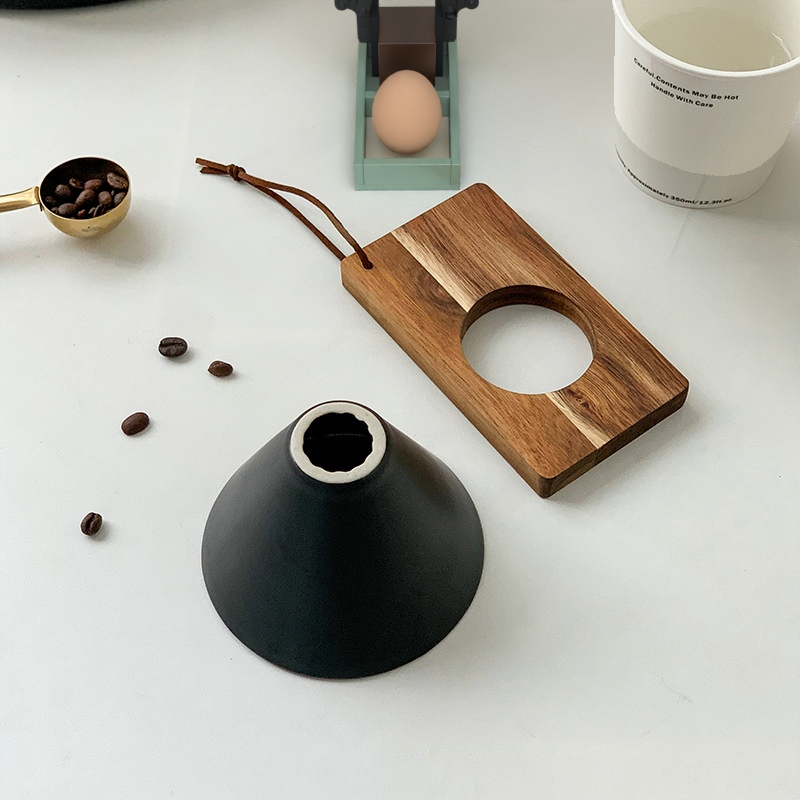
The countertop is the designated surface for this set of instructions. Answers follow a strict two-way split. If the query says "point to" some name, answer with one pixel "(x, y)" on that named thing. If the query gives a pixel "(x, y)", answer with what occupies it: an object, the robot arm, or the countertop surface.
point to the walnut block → (407, 41)
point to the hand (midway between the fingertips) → (407, 66)
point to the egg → (406, 112)
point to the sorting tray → (419, 169)
